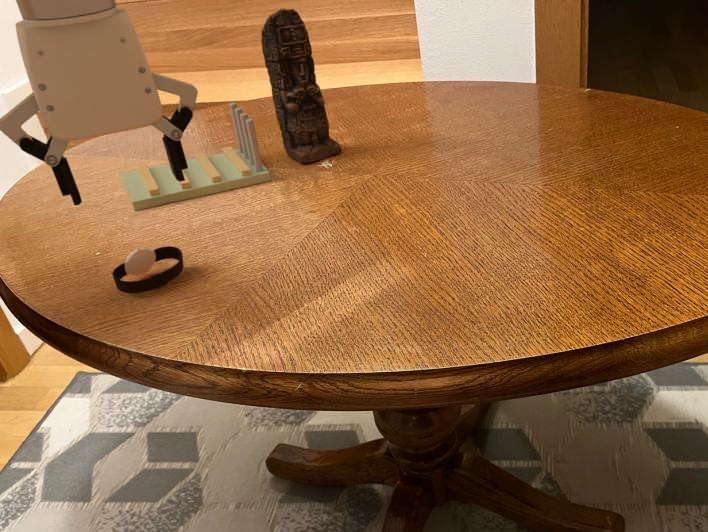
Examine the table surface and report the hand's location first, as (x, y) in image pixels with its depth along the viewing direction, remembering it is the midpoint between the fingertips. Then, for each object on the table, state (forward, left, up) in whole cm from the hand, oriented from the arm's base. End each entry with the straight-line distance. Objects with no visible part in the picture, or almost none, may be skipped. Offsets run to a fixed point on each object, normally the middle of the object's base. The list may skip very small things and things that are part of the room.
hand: (129, 188), depth 72 cm
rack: (+10, +27, -10) cm, 31 cm away
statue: (+27, +28, -11) cm, 40 cm away
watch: (0, 0, -11) cm, 11 cm away
